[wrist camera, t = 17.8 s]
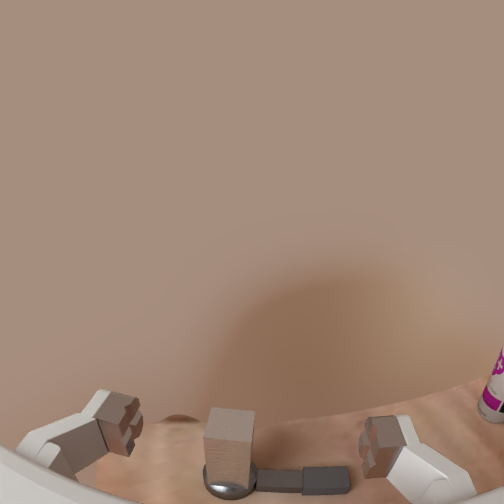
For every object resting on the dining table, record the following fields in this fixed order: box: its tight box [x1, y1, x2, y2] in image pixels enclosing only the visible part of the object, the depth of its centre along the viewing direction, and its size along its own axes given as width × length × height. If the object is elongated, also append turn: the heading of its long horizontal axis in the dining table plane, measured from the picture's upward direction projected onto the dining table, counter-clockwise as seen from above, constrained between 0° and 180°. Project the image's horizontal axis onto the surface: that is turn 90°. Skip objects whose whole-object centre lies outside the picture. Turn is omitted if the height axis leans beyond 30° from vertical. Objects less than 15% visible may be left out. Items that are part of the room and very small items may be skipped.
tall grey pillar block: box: [203, 407, 255, 489], centre depth 33 cm, size 5×5×10 cm
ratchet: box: [203, 461, 350, 500], centre depth 33 cm, size 19×7×6 cm, turn 85°
